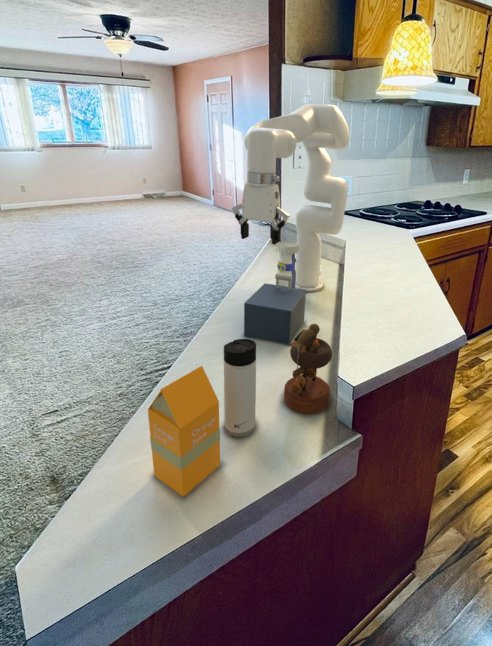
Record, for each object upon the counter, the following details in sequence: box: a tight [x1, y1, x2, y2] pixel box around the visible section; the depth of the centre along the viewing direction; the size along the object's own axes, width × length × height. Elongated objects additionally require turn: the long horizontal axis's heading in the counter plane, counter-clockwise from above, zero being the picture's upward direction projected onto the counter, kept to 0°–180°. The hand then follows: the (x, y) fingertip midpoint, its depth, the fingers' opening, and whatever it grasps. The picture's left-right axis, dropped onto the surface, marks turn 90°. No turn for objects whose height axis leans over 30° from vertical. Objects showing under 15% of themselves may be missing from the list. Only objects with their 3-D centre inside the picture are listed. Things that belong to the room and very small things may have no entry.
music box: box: [283, 323, 333, 415], centre depth 92 cm, size 15×11×20 cm
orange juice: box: [147, 365, 221, 498], centre depth 70 cm, size 8×9×20 cm
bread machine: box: [243, 292, 307, 346], centre depth 124 cm, size 16×14×10 cm
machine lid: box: [243, 272, 308, 313], centre depth 122 cm, size 17×14×6 cm
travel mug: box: [223, 338, 257, 438], centre depth 81 cm, size 6×7×20 cm
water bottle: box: [276, 232, 300, 288], centre depth 147 cm, size 8×9×25 cm
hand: (260, 240), depth 116 cm, fingers open, 9 cm apart
